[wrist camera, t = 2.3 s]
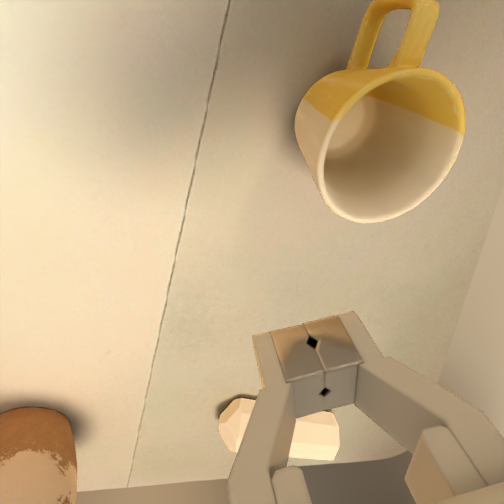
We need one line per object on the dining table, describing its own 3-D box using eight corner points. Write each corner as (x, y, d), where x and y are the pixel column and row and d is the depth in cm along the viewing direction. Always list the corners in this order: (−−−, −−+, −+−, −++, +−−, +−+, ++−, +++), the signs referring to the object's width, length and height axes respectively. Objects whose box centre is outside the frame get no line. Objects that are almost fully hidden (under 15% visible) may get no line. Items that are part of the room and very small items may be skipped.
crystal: (203, 448, 53) (317, 457, 63) (225, 452, 47) (345, 461, 58) (210, 397, 56) (317, 414, 67) (231, 395, 51) (344, 414, 61)
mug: (350, 182, 34) (408, 236, 26) (260, 155, 31) (292, 208, 23) (429, 32, 28) (541, 41, 19) (325, -24, 24) (406, -43, 16)
